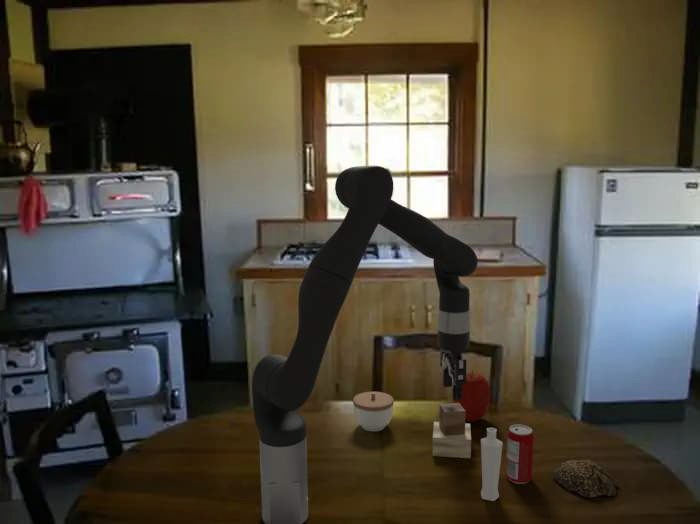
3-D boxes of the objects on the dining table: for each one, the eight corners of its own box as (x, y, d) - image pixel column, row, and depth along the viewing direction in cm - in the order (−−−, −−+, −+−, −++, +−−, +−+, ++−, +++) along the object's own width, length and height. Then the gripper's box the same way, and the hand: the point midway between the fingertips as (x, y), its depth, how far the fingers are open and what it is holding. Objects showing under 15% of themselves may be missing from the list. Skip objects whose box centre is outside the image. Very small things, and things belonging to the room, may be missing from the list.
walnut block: (464, 434, 153) (465, 410, 152) (444, 435, 152) (445, 412, 151) (458, 425, 158) (459, 402, 156) (439, 426, 157) (439, 404, 156)
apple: (487, 411, 177) (489, 364, 174) (492, 427, 167) (494, 377, 165) (450, 410, 178) (451, 363, 175) (452, 426, 168) (453, 376, 166)
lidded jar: (348, 432, 165) (347, 398, 163) (359, 416, 175) (359, 383, 173) (388, 437, 162) (388, 403, 160) (397, 420, 172) (397, 387, 170)
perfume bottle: (484, 487, 138) (486, 423, 135) (503, 494, 135) (505, 428, 132) (474, 496, 134) (475, 430, 131) (493, 503, 131) (495, 436, 129)
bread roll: (544, 475, 143) (545, 455, 142) (589, 465, 147) (590, 445, 146) (584, 504, 131) (585, 482, 130) (630, 493, 135) (632, 471, 135)
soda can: (534, 476, 142) (536, 426, 140) (527, 487, 138) (530, 435, 135) (510, 470, 145) (512, 420, 143) (502, 480, 140) (504, 430, 138)
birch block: (470, 459, 151) (471, 439, 150) (432, 456, 152) (432, 437, 151) (469, 442, 159) (470, 423, 159) (433, 440, 161) (433, 421, 160)
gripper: (478, 336, 144) (476, 403, 147) (460, 319, 158) (458, 381, 160) (446, 337, 143) (444, 405, 146) (430, 320, 157) (429, 383, 160)
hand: (452, 392), depth 153 cm, fingers open, 8 cm apart
